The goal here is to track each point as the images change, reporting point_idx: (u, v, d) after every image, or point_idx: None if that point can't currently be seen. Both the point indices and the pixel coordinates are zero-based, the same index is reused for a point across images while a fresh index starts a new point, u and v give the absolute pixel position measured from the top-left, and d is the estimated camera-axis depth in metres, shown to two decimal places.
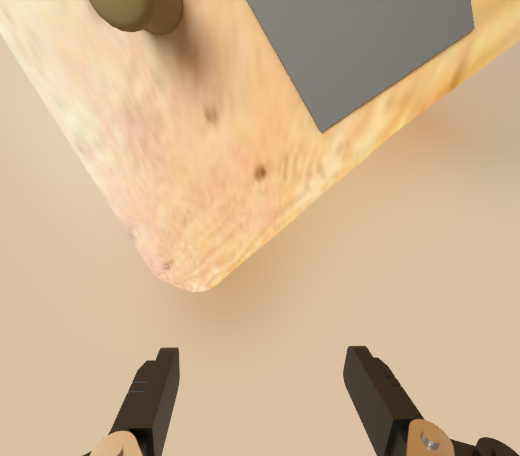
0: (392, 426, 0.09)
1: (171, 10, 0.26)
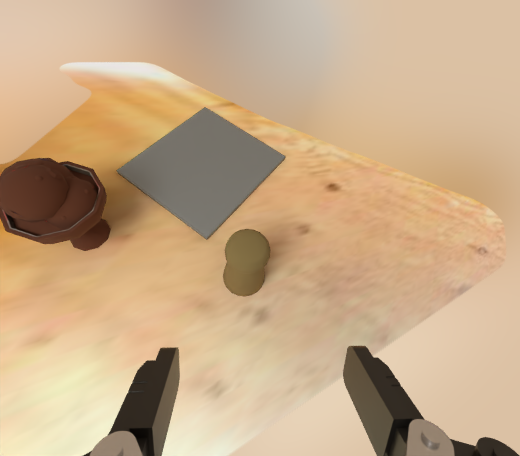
0: (392, 426, 0.09)
1: None
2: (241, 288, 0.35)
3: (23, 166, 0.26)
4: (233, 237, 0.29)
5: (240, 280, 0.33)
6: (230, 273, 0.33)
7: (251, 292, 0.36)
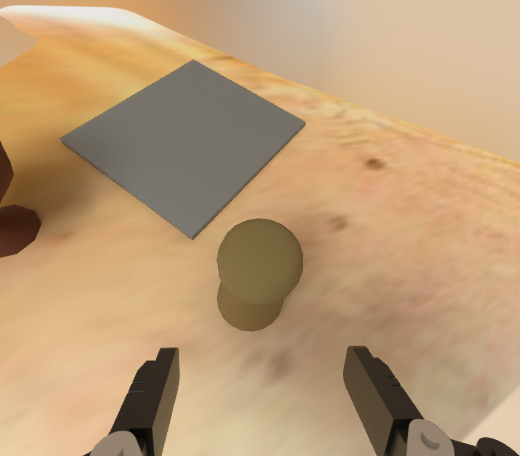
0: (392, 426, 0.09)
1: None
2: (247, 322, 0.21)
3: None
4: (233, 234, 0.15)
5: (246, 310, 0.18)
6: (227, 298, 0.19)
7: (263, 325, 0.22)
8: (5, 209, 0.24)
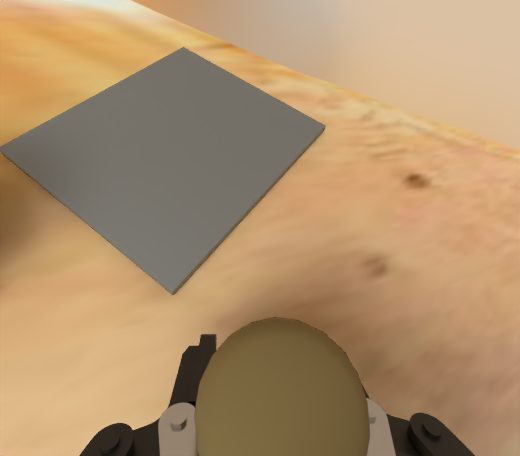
0: None
1: None
2: None
3: None
4: (226, 370, 0.07)
5: None
6: None
7: None
8: None
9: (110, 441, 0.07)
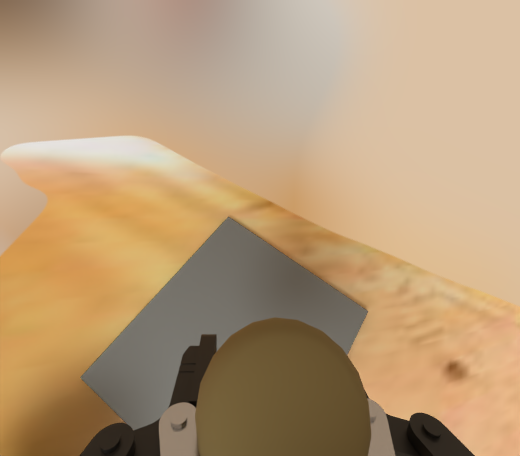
0: None
1: None
2: None
3: None
4: (226, 370, 0.07)
5: None
6: None
7: None
8: None
9: (111, 441, 0.07)
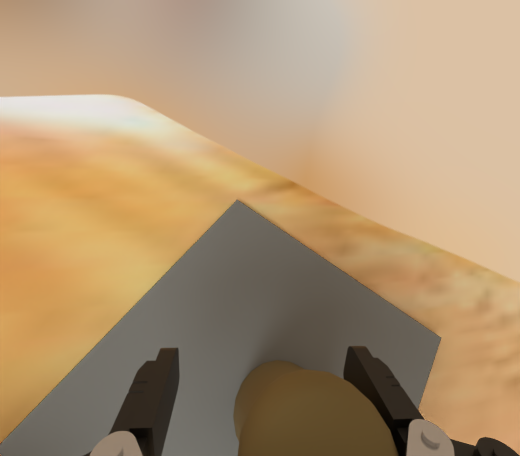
0: (392, 426, 0.09)
1: (290, 368, 0.15)
2: None
3: None
4: (267, 431, 0.08)
5: None
6: None
7: None
8: None
9: None
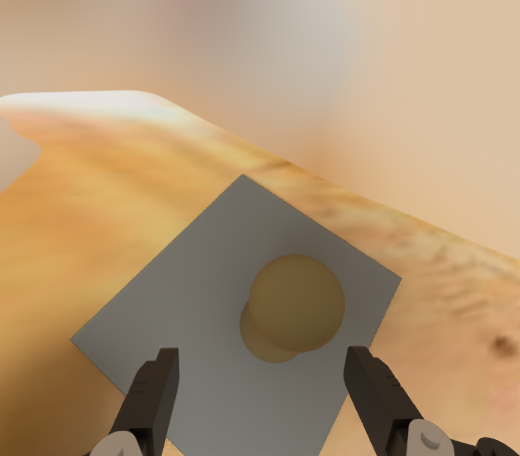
0: (392, 426, 0.09)
1: None
2: (274, 357, 0.19)
3: None
4: (268, 274, 0.14)
5: (276, 349, 0.17)
6: (255, 334, 0.18)
7: (290, 358, 0.20)
8: None
9: None
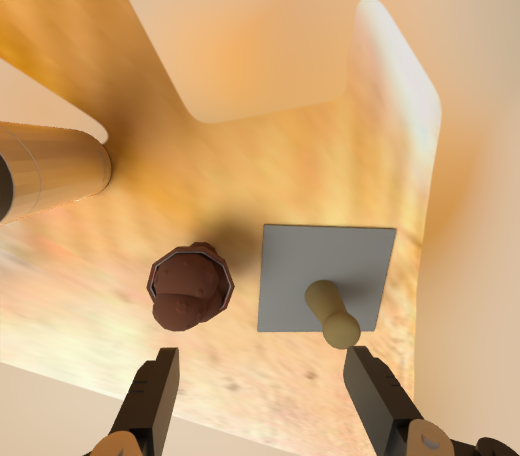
0: (392, 426, 0.09)
1: (341, 298, 0.43)
2: (311, 309, 0.44)
3: (184, 311, 0.29)
4: (345, 324, 0.35)
5: (317, 317, 0.41)
6: (317, 307, 0.41)
7: None
8: None
9: None
